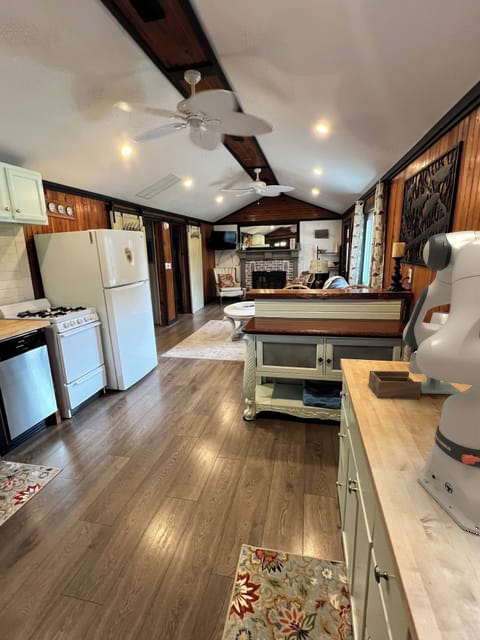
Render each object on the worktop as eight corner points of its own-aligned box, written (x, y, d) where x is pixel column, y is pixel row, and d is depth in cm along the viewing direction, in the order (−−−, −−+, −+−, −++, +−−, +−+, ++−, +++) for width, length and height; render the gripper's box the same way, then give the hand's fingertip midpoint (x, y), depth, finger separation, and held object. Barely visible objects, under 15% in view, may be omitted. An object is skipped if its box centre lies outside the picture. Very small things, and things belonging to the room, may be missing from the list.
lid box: (419, 399, 121) (421, 382, 120) (378, 398, 122) (379, 382, 120) (406, 386, 132) (408, 371, 130) (368, 385, 133) (369, 370, 131)
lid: (459, 393, 122) (461, 381, 120) (421, 393, 122) (423, 381, 121) (446, 384, 129) (449, 373, 128) (411, 383, 130) (413, 372, 129)
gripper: (415, 353, 119) (410, 386, 123) (469, 354, 118) (463, 386, 122) (407, 348, 125) (403, 379, 129) (459, 348, 124) (453, 379, 128)
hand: (433, 383), depth 125 cm, fingers closed on lid
